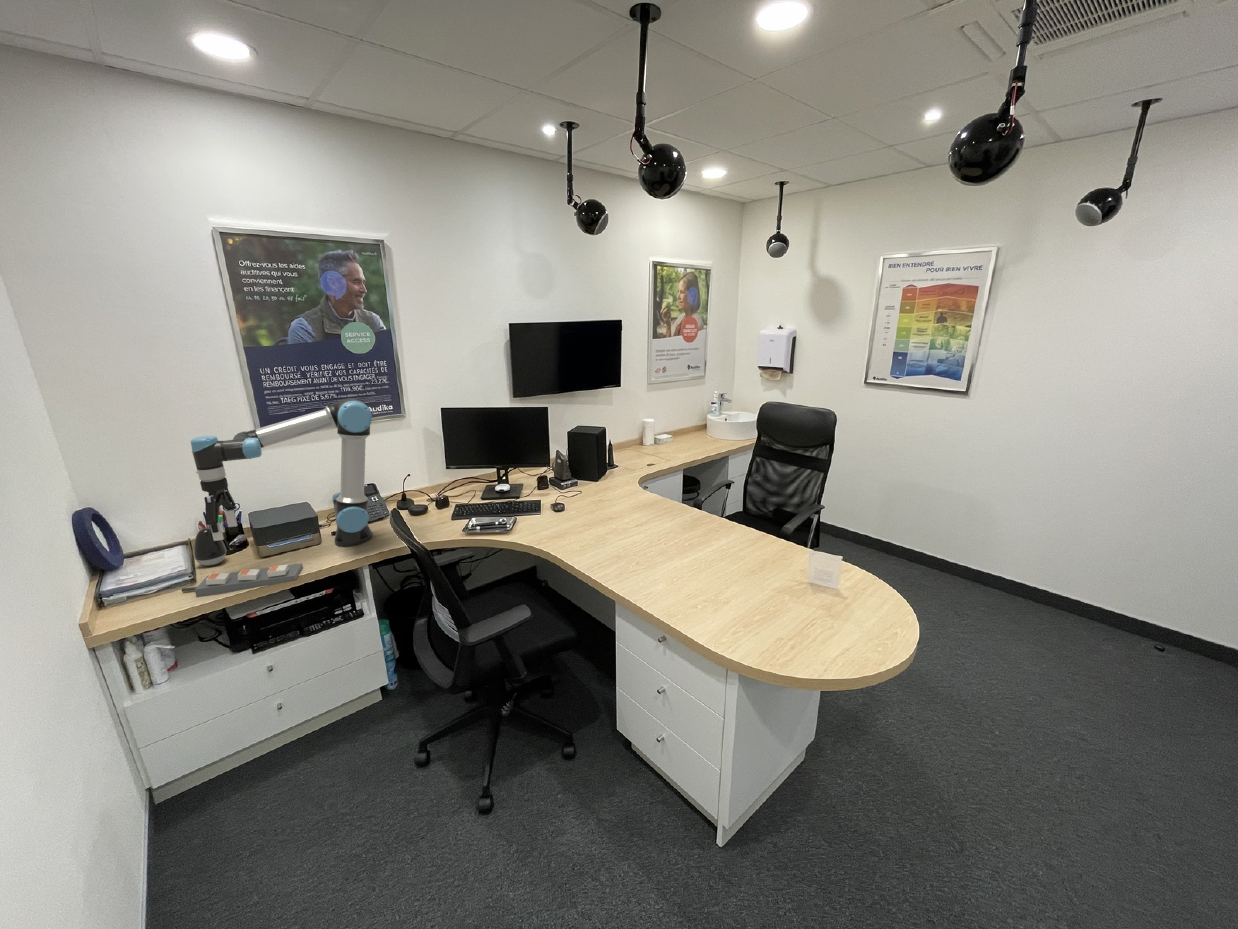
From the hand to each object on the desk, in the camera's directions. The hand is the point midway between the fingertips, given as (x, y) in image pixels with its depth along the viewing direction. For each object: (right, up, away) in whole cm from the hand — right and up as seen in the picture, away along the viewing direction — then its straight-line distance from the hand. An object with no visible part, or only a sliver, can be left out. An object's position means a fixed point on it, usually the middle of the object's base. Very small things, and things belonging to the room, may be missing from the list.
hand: (226, 533), depth 183 cm
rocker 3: (+18, -16, +3) cm, 24 cm away
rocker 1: (0, -17, -3) cm, 18 cm away
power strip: (+5, -20, +2) cm, 20 cm away
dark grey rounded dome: (-20, -15, +18) cm, 31 cm away
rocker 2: (+9, -16, 0) cm, 19 cm away
